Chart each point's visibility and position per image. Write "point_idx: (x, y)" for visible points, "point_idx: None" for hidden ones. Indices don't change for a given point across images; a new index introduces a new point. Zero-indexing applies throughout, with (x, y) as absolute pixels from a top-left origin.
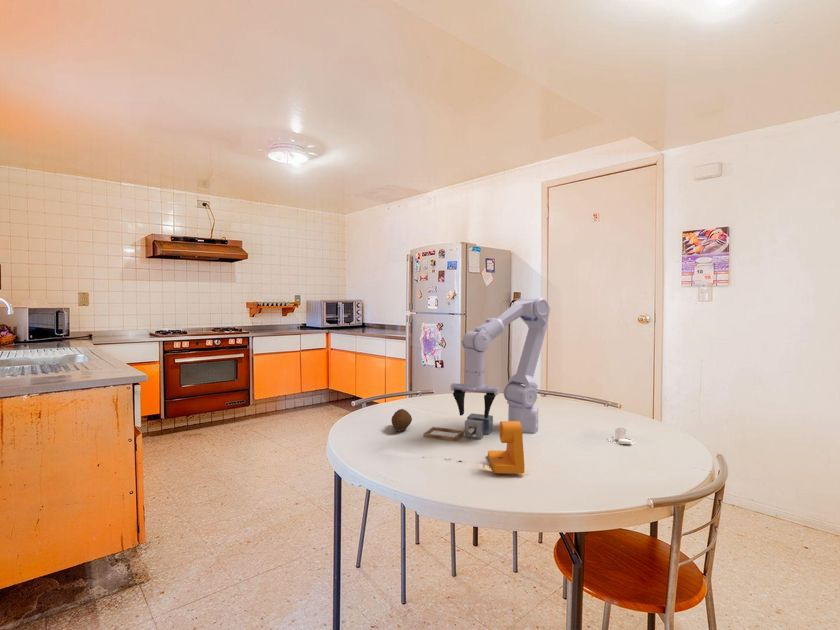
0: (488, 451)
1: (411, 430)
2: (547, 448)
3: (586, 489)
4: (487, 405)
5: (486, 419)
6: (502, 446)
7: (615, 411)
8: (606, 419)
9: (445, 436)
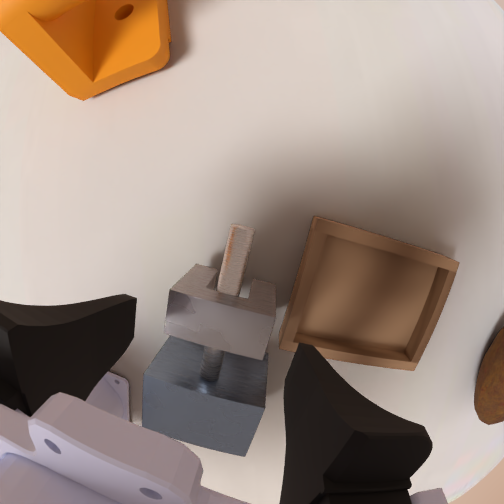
0: (157, 46)
1: (465, 362)
2: (14, 250)
3: None
4: (59, 310)
5: (157, 378)
6: (117, 243)
7: None
8: None
9: (371, 240)
